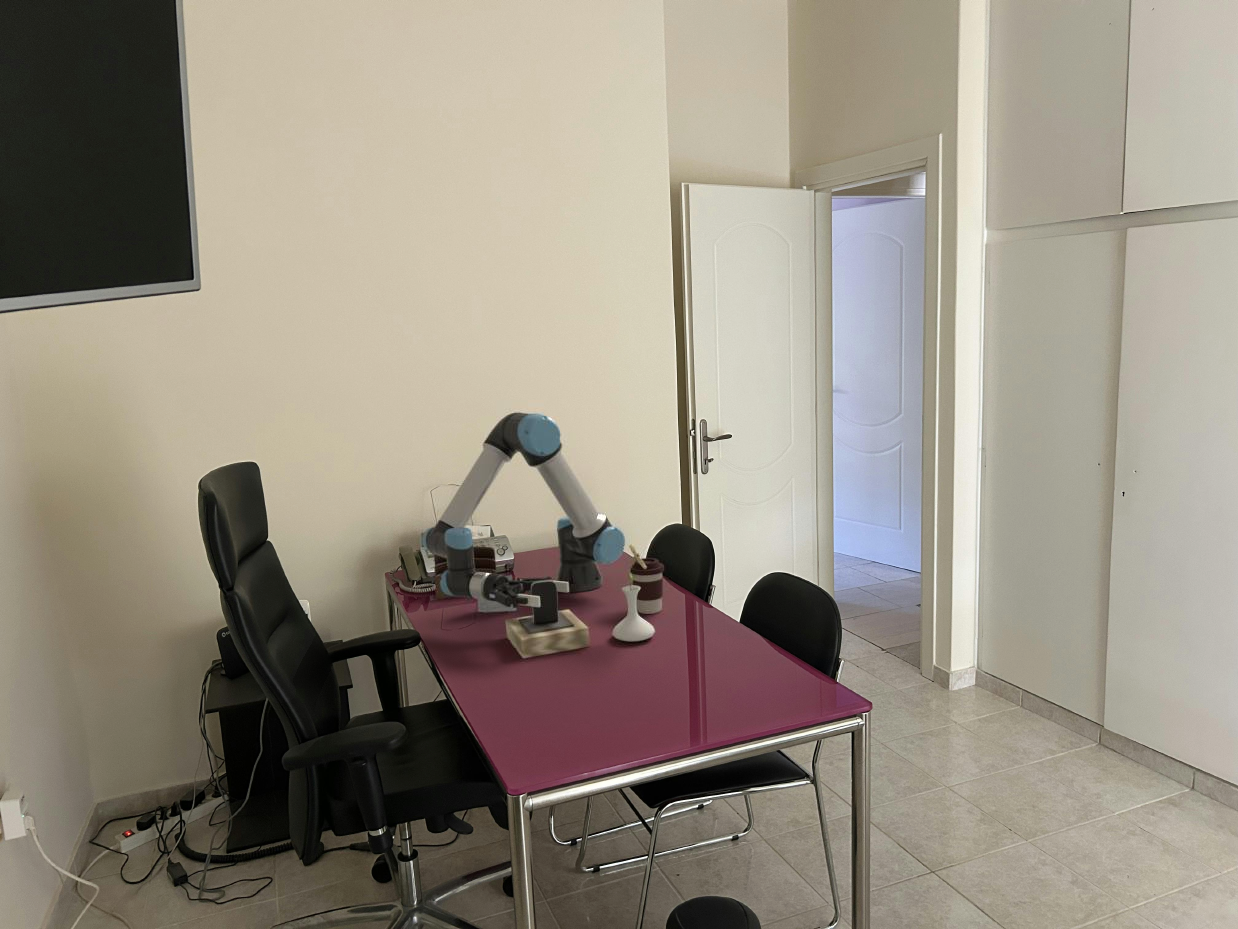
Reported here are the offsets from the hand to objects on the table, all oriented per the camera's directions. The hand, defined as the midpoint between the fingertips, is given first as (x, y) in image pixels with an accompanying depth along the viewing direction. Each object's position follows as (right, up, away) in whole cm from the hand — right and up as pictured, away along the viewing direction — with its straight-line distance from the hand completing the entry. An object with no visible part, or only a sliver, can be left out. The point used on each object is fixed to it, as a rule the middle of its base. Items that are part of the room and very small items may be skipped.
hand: (554, 594), depth 241 cm
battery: (-2, -8, +3) cm, 9 cm away
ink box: (-19, -10, +33) cm, 40 cm away
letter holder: (-32, -8, +56) cm, 65 cm away
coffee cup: (+26, -9, +25) cm, 37 cm away
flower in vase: (+21, -12, +4) cm, 25 cm away
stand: (-2, -13, +4) cm, 14 cm away
